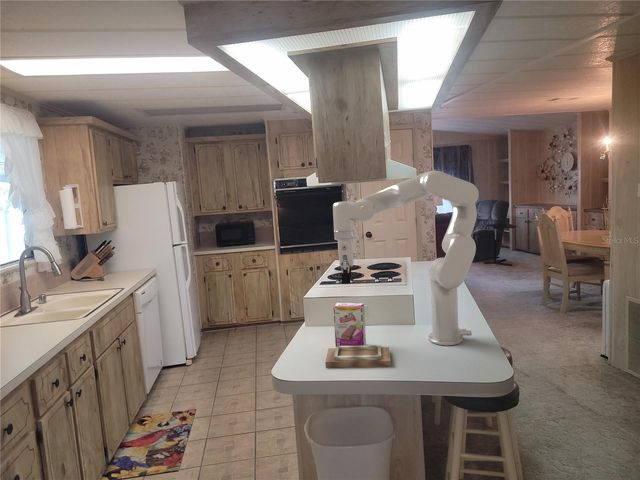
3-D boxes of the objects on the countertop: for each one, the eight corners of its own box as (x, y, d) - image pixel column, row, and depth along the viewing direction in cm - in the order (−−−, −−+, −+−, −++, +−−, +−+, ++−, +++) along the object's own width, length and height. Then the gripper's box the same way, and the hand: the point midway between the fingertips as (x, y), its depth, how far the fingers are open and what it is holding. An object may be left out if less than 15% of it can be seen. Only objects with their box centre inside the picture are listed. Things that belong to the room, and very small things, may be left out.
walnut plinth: (388, 352, 157) (388, 343, 156) (390, 366, 145) (390, 357, 145) (328, 353, 159) (328, 345, 159) (325, 367, 147) (325, 358, 147)
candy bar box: (335, 347, 164) (332, 306, 162) (338, 343, 169) (335, 302, 167) (364, 349, 161) (362, 306, 159) (366, 344, 166) (364, 302, 164)
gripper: (354, 237, 151) (356, 285, 153) (355, 231, 168) (357, 275, 170) (332, 238, 151) (335, 286, 154) (335, 232, 168) (338, 275, 171)
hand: (346, 280), depth 162 cm, fingers open, 9 cm apart
